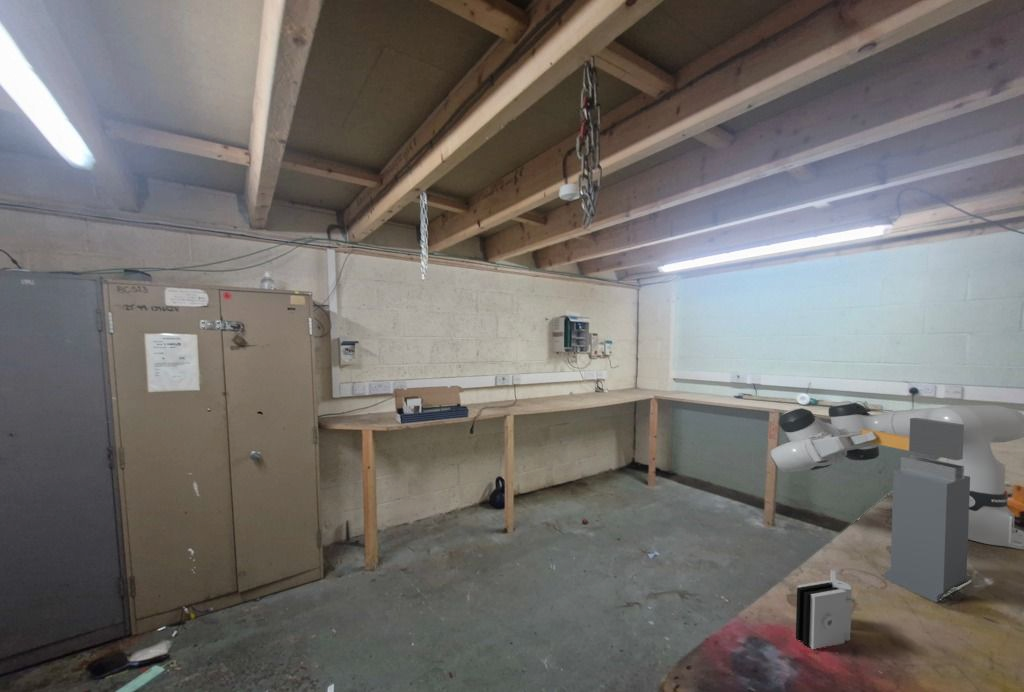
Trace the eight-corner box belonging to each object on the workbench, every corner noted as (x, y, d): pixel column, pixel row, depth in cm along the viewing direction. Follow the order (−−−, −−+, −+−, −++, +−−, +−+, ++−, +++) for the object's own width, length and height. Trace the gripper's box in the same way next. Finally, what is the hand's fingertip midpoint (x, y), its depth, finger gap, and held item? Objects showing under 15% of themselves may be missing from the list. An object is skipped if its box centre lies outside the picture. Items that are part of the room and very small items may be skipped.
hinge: (829, 616, 79) (831, 568, 79) (862, 634, 74) (864, 584, 74) (791, 637, 73) (793, 586, 73) (823, 659, 68) (825, 604, 68)
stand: (919, 562, 99) (923, 452, 99) (971, 582, 91) (976, 462, 90) (883, 578, 92) (887, 460, 92) (936, 602, 84) (941, 472, 83)
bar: (867, 440, 103) (868, 410, 103) (962, 459, 87) (963, 424, 87) (861, 441, 102) (862, 411, 102) (956, 460, 86) (958, 425, 86)
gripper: (852, 455, 114) (907, 442, 103) (811, 463, 105) (866, 450, 94) (840, 434, 116) (892, 420, 105) (799, 440, 108) (852, 425, 97)
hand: (880, 434), depth 100 cm, fingers closed on bar, 3 cm apart
